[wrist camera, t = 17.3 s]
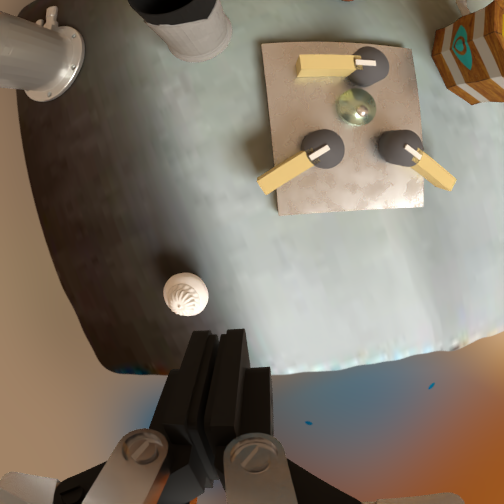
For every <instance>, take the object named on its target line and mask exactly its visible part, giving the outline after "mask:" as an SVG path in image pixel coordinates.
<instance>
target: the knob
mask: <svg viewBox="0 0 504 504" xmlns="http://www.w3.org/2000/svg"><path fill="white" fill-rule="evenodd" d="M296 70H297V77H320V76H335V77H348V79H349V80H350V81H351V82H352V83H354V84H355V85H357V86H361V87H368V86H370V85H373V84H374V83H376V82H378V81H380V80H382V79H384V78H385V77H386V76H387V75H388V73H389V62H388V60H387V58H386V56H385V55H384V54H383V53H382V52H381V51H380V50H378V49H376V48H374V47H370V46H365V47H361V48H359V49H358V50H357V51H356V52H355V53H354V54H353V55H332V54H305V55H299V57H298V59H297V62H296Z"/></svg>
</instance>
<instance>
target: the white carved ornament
mask: <svg viewBox="0 0 504 504" xmlns="http://www.w3.org/2000/svg"><path fill="white" fill-rule="evenodd" d="M163 293H164V299H165V302H166V304H167V305H168V306H169V308H171V311H173V312H175V314H179V315H180V316H181V315H184V316H192V315H196V314H198V313H200V312H201V311H202V310H203V309H204V308H205V306H206V304H207V302H208V290H207V288H206V286H205V284H204V282H203V281H202V280H201V278H199V277H198V276H196V275H195V274H192V273H187V272H186V273H179V274H176V275H173V276H172V277H170V278H169V279H168V281H167V282H166V284H165V286H164V291H163Z"/></svg>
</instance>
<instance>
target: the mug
mask: <svg viewBox="0 0 504 504" xmlns="http://www.w3.org/2000/svg"><path fill="white" fill-rule="evenodd" d="M456 4H457V6H458V8H459V10H460V12H461V14H462V17H461V18H460V19H458V20H457V21H456V22H454V23H453V24H451V25H449V26H447V27H445V28H442V29H439V30H436V34H435V40H434V45H433V50H432V55H431V56H432V58H433V60H434V62H435V64H436V66H437V68H438V70H439V72H440V75H441V77H442V79H443V81H444V83H445V85H446V88H447V89H449V90H450V91H452V92H453V93H455V94H456V95H458V96H459V97H461V98H462V99H464V100H465V101H467V102H468V103H469V104H471V105H474V104H477V103H481V102H504V0H494V1H493V2H492V3H490V4H489V5H488V6H486V7H485V8H483V9H481V10H479V11H476V12H474V13H470V11H469V9H468V8H467V6H466V0H456Z"/></svg>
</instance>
